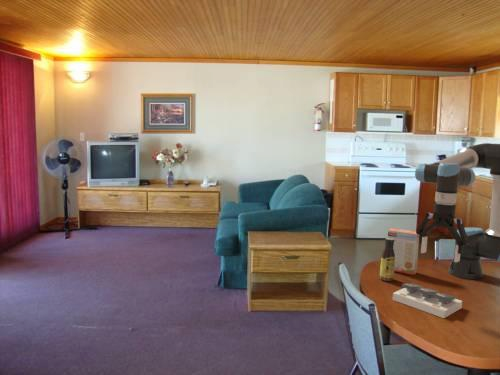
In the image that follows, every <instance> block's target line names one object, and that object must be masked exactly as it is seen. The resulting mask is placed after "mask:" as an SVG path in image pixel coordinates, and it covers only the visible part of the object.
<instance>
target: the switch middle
mask: <svg viewBox="0 0 500 375" xmlns="http://www.w3.org/2000/svg"><path fill="white" fill-rule="evenodd" d="M417 292H418V293H421V294H424V295H434V294H438V293H439V291H438V290H434V289H431V288H428V287H427V288H426V287H425V288H424V287H422V289H417Z"/></svg>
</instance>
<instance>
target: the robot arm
mask: <svg viewBox="0 0 500 375" xmlns="http://www.w3.org/2000/svg"><path fill="white" fill-rule="evenodd" d="M473 168H475V169H476V168H478V169H486V170H487V169H488V170H489V175H490V176H491V177H493V178H492V191H491V192H492V194H491V203H490V204H491V205H490V217H489V218H490V219H489V228H487V229H486V230H485V231H484V228H480V227H474V226H473V227H468V226H467V227H465V226H464V219H463V218H455V217H456V215H455V214H456V206H457V205H456V204H457V200H458V198H457V197H458V196H457V195H458V189H459V188H461V187H463V188H465V187H469V186H471V185H473V183H474V182H475V180H476V174H475V172H474V170H473ZM414 177H415V179H416V180H417V182H423V183H424V184H425V183H428V184H436V188H435V197H434V202H435V203H434V204H433V213H432V212H426V213H425V214H424V219H423V220H422V222H421V223H420V225H419V227H418V228H417V230H416V233H417V234H419V244H420V245H421V246H420V247H421V248H420V254H424V253H427V248H428V236H427V235H428V234H429V233H430V232H431V231H433V230H434V229H435V228H436V227H440V228H444V229H447V230H448V231H449V232H450V234H451V235H452V237H453V239H454V240H455V241H454V250H453V252H454V253H453V258H452V260H451V262H450V264H449V266H448V272H449V274H451V276H455V277H458V278H461V279H466V280H467V279H468V280H480V279H482V278H483V277H484V270H483V267H482V262H481V258H483V259H487V260H490V261H494V262H498V263H500V143H489V142H485V143H483V142H482V143H478V144H475V145H472V146H468V147H465V148H463V149H461V150H460V151H459V152H458V153H455V154H453V155H451V156H448V157H446V158H443V159H440V160H438V161H436V162H433V163H429V164H427V163H419V164H418V165H417V166H416V167H415V171H414ZM431 219H433V222H431V223H430V221H431ZM429 223H430V225H428V224H429ZM454 223H455V224H456V226H455V225H454ZM427 225H428V226H427ZM456 227H457V229H456Z"/></svg>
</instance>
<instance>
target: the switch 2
mask: <svg viewBox="0 0 500 375" xmlns="http://www.w3.org/2000/svg"><path fill="white" fill-rule="evenodd" d="M434 298H437V299H440V300H443V301H452V300H455V299H456V297H455V296H454V295H450V294H447V293H439V294H434Z"/></svg>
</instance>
